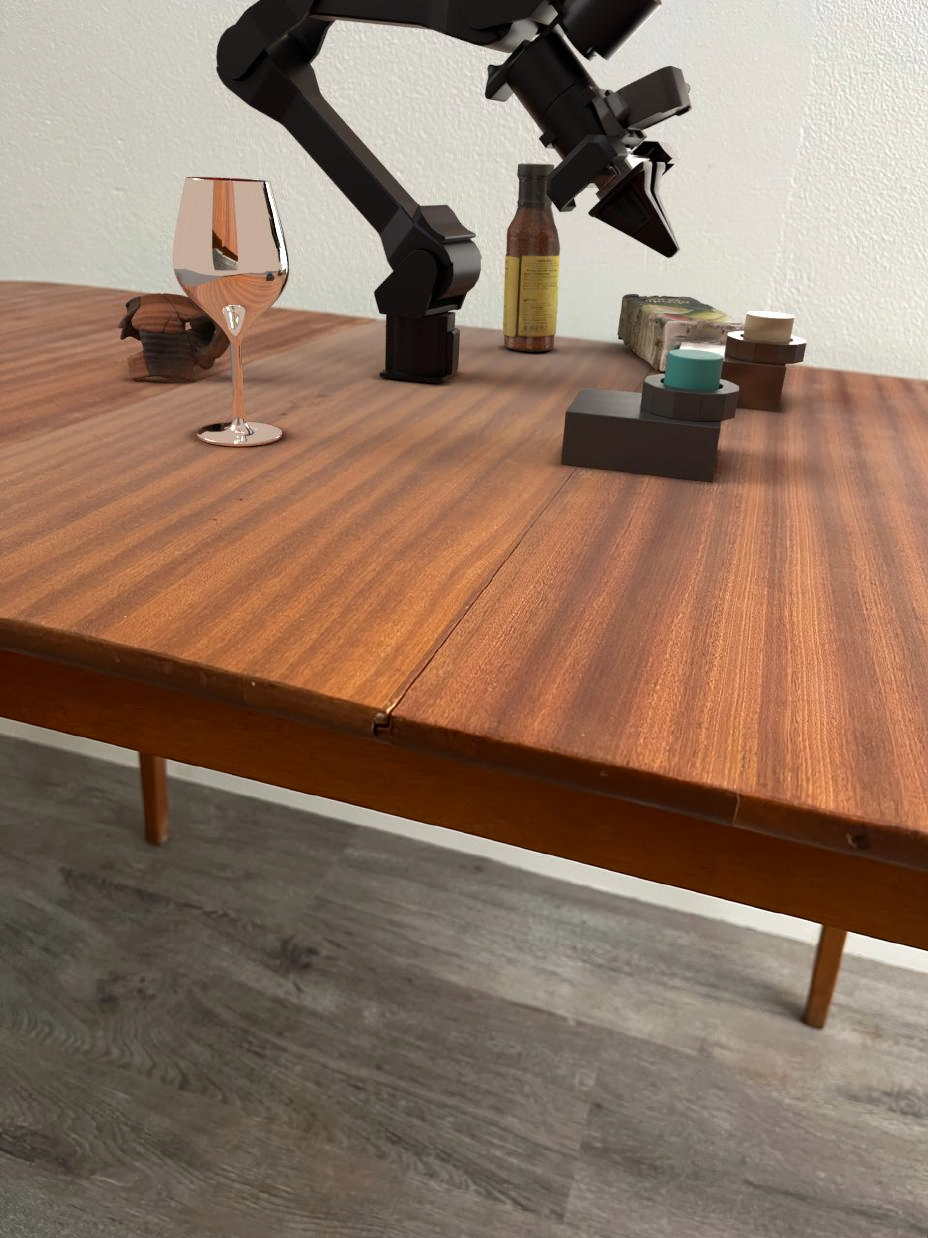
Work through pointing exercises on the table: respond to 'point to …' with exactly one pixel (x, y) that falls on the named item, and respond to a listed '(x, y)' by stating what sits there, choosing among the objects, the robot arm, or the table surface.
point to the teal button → (693, 369)
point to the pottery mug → (171, 336)
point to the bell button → (768, 326)
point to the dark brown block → (648, 429)
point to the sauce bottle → (531, 265)
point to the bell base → (755, 367)
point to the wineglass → (231, 275)
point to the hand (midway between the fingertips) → (674, 254)
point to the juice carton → (670, 325)
